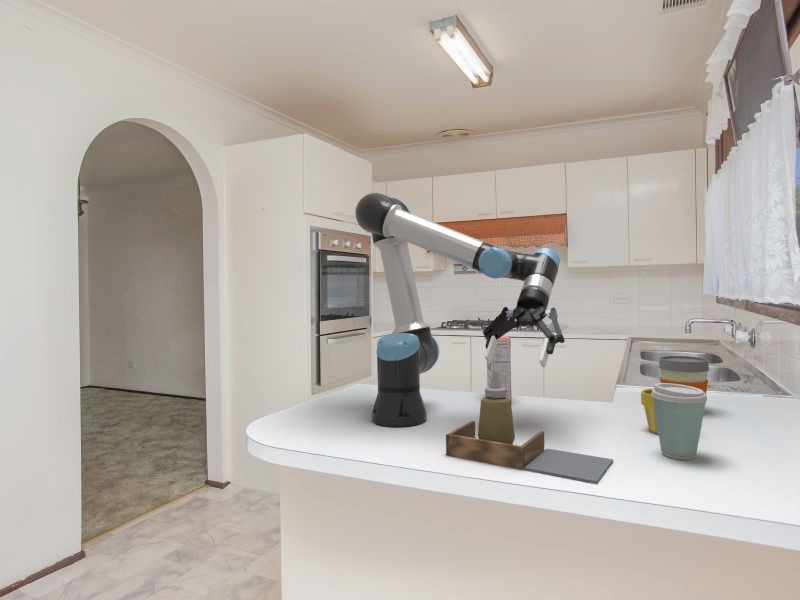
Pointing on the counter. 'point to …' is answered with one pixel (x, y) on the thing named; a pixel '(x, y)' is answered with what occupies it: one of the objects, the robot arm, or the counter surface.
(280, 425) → the counter surface
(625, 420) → the counter surface
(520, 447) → the walnut nook
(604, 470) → the slate mat
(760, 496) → the counter surface
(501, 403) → the squeeze bottle
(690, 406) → the disposable coffee cup
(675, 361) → the reusable coffee cup
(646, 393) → the plant pot
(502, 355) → the cracker box
